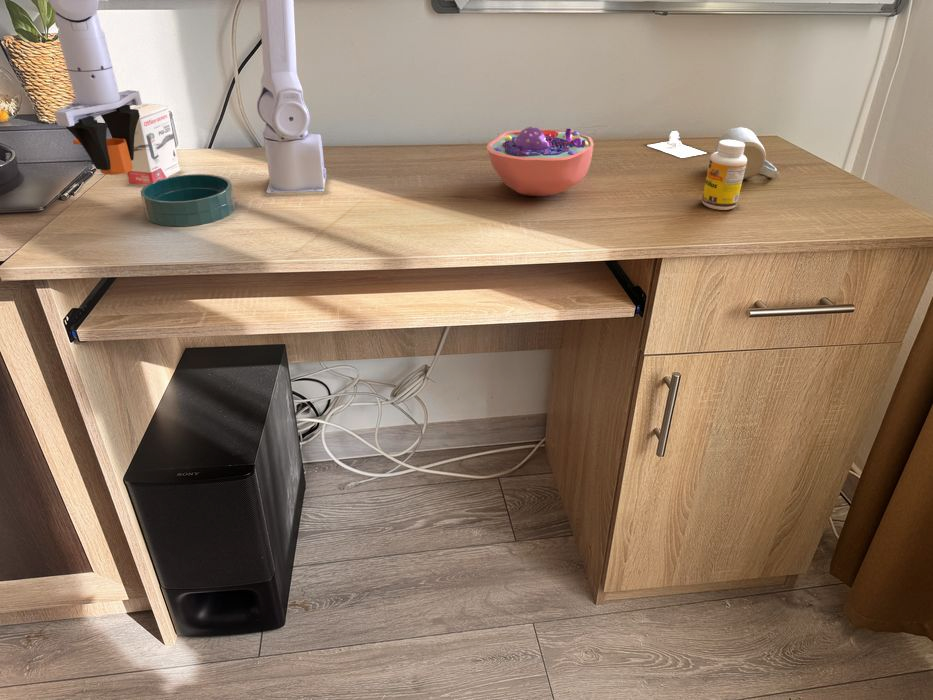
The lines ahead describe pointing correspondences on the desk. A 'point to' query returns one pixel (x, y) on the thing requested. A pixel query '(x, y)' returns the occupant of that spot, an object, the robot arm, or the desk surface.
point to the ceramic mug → (750, 152)
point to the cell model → (541, 160)
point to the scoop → (116, 156)
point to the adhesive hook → (676, 147)
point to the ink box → (153, 146)
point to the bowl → (188, 200)
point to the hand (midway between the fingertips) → (115, 164)
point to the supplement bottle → (725, 175)
